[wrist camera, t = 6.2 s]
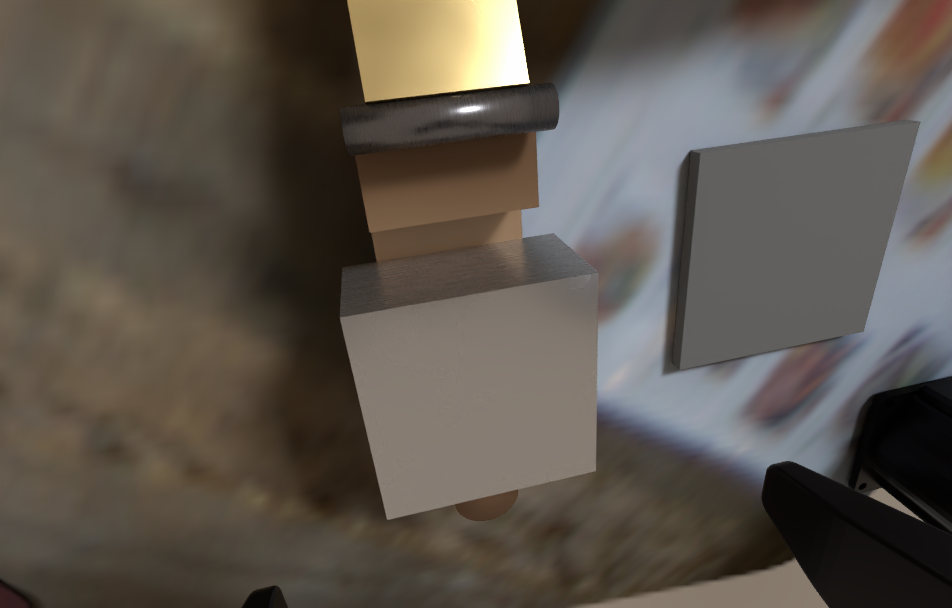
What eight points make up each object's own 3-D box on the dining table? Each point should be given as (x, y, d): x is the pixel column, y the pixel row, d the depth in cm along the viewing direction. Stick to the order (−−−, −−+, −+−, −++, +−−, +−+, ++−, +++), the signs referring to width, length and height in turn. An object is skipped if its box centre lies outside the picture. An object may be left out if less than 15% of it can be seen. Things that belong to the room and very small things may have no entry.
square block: (558, 407, 17) (595, 471, 15) (381, 444, 16) (387, 520, 14) (553, 233, 15) (597, 272, 12) (342, 267, 14) (339, 317, 11)
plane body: (505, 407, 22) (550, 509, 17) (410, 426, 21) (428, 539, 16) (480, 100, 16) (535, 118, 12) (352, 115, 16) (352, 141, 11)
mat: (852, 325, 24) (863, 331, 23) (672, 362, 23) (679, 369, 22) (905, 119, 20) (920, 121, 19) (690, 150, 19) (700, 153, 18)
